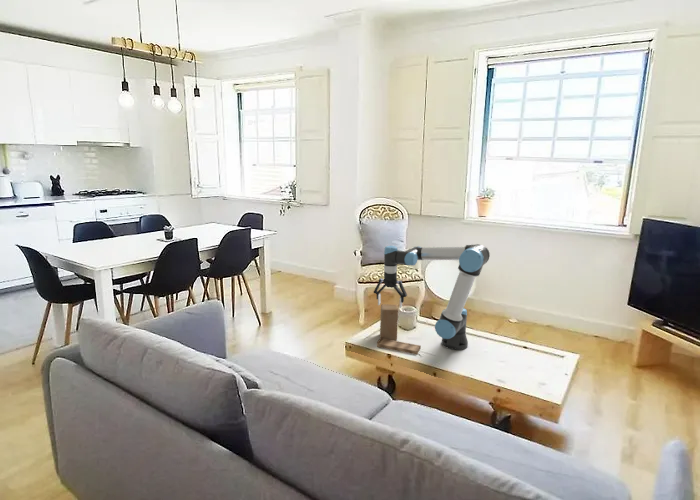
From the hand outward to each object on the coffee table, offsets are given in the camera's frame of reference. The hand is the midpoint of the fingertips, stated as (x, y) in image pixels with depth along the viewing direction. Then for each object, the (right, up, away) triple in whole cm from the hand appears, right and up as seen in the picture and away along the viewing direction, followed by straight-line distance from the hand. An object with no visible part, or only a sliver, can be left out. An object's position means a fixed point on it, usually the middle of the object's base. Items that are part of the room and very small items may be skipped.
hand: (389, 306), depth 266 cm
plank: (+4, -23, -9) cm, 25 cm away
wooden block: (-1, -20, +5) cm, 21 cm away
